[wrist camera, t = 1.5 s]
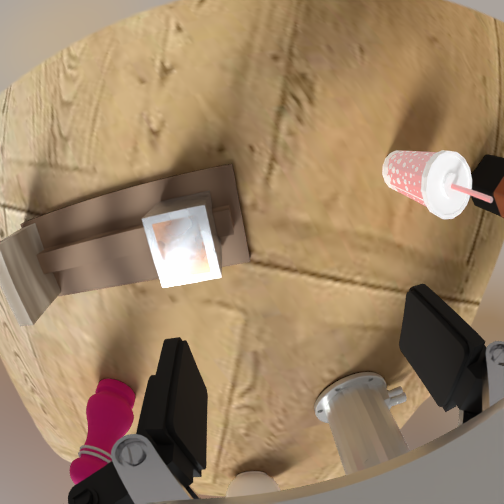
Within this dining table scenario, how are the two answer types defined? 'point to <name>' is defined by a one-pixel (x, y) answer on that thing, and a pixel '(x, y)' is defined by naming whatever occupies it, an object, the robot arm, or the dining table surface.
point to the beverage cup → (432, 180)
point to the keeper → (184, 240)
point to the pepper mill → (103, 426)
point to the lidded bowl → (251, 484)
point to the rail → (107, 241)
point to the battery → (490, 184)
